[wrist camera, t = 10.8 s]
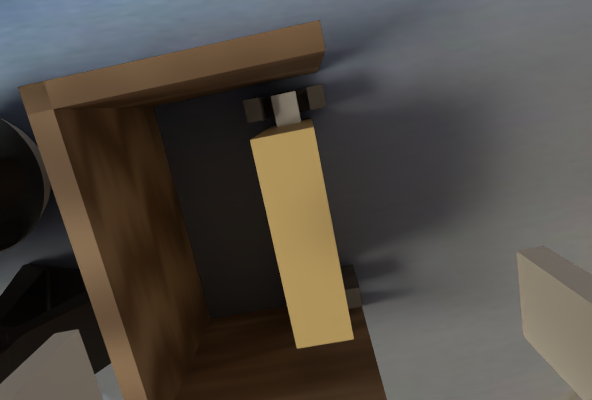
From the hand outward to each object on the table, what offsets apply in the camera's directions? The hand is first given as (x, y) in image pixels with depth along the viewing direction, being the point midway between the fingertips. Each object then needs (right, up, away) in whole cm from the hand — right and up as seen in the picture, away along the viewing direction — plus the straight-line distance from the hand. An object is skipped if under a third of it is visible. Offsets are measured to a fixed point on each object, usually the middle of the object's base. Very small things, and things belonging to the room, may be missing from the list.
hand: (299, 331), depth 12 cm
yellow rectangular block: (+1, +4, +19) cm, 19 cm away
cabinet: (-3, +3, +19) cm, 20 cm away
